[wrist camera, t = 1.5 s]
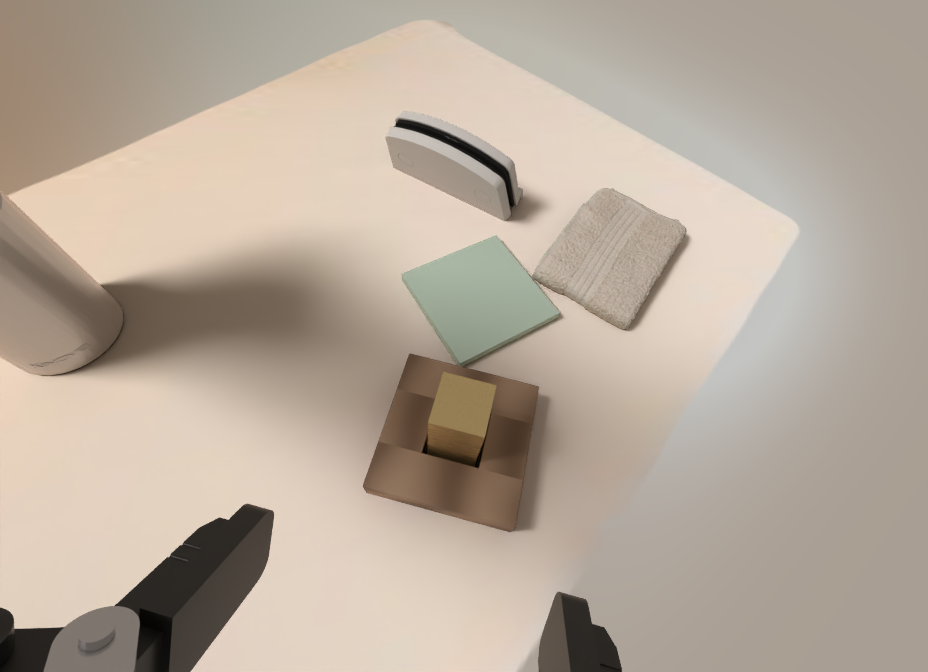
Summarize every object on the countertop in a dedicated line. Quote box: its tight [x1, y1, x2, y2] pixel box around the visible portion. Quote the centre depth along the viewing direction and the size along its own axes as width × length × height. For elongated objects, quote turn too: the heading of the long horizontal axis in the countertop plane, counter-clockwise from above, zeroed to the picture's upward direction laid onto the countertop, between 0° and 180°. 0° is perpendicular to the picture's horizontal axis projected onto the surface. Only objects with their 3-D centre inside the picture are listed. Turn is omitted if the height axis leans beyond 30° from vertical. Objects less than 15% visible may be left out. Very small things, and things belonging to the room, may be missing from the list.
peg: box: [427, 372, 497, 467], centre depth 35 cm, size 4×4×9 cm
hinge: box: [386, 111, 523, 221], centre depth 51 cm, size 17×5×10 cm, turn 59°
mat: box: [402, 236, 560, 367], centre depth 46 cm, size 12×12×1 cm
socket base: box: [363, 354, 539, 532], centre depth 37 cm, size 12×12×2 cm
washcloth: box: [532, 188, 686, 330], centre depth 50 cm, size 12×18×3 cm, turn 146°
